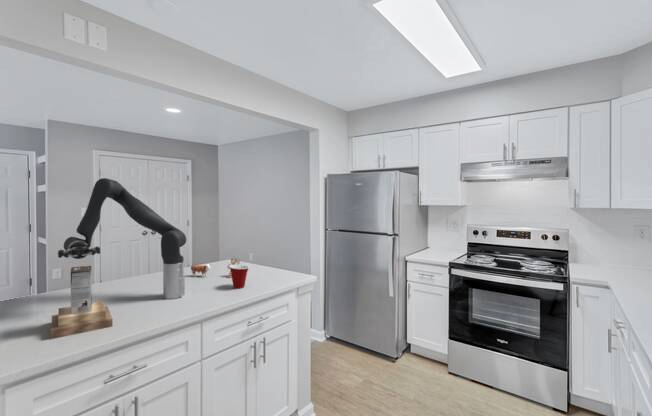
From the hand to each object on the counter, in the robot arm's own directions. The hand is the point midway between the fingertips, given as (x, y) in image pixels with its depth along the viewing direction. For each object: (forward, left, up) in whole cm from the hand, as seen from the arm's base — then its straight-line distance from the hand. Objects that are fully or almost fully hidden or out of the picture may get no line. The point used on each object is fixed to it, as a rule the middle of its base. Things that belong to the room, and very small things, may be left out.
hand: (80, 253), depth 132 cm
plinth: (-5, +10, -26) cm, 28 cm away
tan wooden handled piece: (-54, -61, -26) cm, 86 cm away
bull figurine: (-34, -63, -26) cm, 77 cm away
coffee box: (-5, +10, -20) cm, 23 cm away
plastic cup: (-60, -36, -26) cm, 75 cm away
